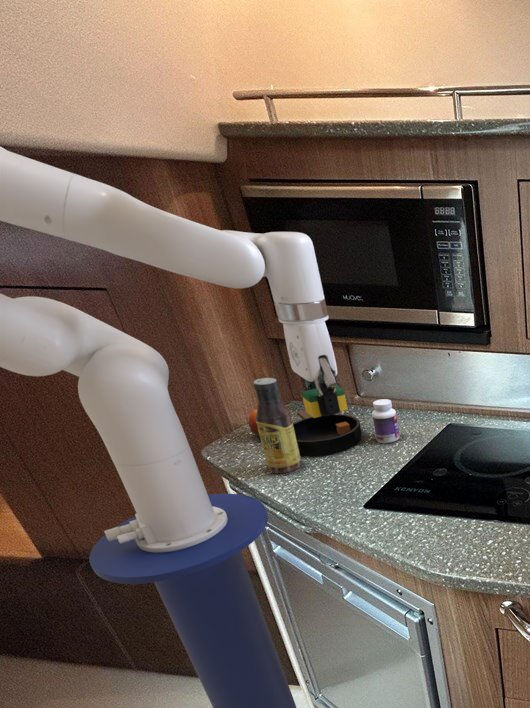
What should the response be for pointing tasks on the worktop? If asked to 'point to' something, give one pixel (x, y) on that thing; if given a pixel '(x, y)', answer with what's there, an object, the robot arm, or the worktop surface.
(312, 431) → the pan
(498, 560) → the worktop surface
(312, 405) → the sponge
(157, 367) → the robot arm
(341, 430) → the block
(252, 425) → the fruit
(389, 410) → the pill bottle
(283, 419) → the sauce bottle
